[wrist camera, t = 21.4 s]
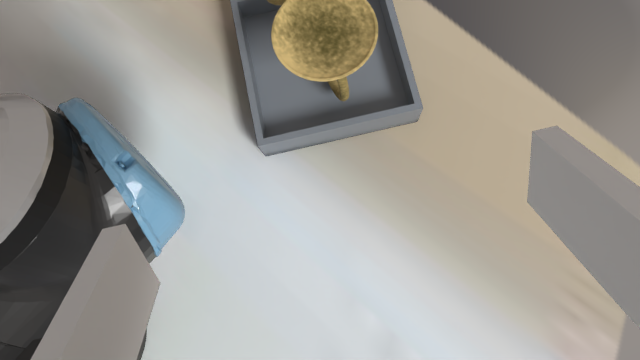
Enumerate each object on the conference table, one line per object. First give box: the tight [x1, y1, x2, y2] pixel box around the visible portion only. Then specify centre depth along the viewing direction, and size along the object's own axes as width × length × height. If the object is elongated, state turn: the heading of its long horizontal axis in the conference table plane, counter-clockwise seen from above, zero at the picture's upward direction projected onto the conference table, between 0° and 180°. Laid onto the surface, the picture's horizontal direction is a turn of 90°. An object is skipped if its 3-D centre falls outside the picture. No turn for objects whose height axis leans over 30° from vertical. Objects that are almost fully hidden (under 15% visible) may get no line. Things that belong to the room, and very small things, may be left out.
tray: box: [230, 0, 423, 156], centre depth 47 cm, size 17×18×4 cm
